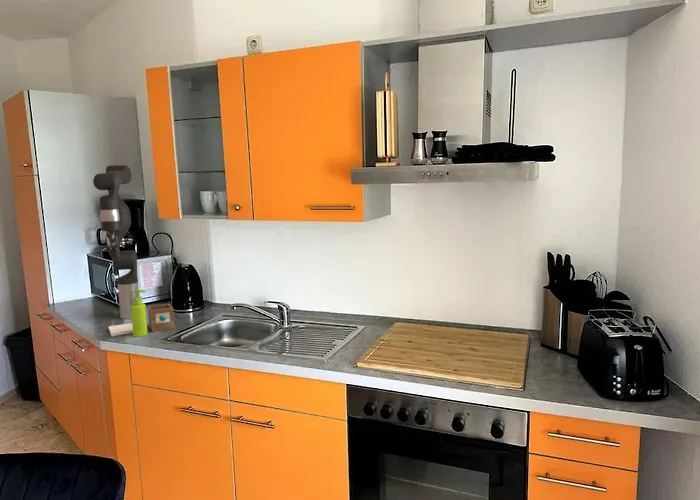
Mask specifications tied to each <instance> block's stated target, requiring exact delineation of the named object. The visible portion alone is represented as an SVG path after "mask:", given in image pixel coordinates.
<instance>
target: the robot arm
mask: <svg viewBox="0 0 700 500" xmlns="http://www.w3.org/2000/svg"><path fill="white" fill-rule="evenodd" d="M131 181H132V171H131V168H130V167H129V166H128V165H126V164H123V165H122V164H121V165H119V164H118V165H117V164H116V165H114V164H113V165H107V166H106V168H105V172H103V173H97V174H95V175H94V177H93V180H92V182H93V184H92V185H94V188H95V189H97V190H99V191H108V194H107V195H102V196H100V198H99V207H100V215H99V216H100V228H101V231H102V232H106V235H105V238H106V245H107V247H108V255H109V256H110V257H111V258H112V266H113V269H114V270H115V271H124V270H129V272H127V273H126V274H124V275H121V276H119V277H118V278H117V289H118V290H117V291H118V302H119V303H118V304H119V316H120V319H123V320H124V319H125V320H132V313H131V306H132V305H134V297H136V295H135V292H133V291H134V290H140V289H139V276H138V255H137V252H136V251H135V250H133V249H132V250H131V249H130V250H120V246H121V243H122V241H123V239H124V237H125V235H126V234H127V232H128V230H129V229H130V227H131V226H132V225H131V224H132V218H131V217H132V216H131V211H130V208H129V206H128V205H127V204H126V202H124V200H123V199H122V198H121V196H120V195H119V192H120V188H121V185H126V184H129V183H130V182H131Z"/></svg>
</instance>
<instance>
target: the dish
mask: <svg viewBox="0 0 700 500" xmlns="http://www.w3.org/2000/svg"><path fill="white" fill-rule="evenodd" d="M108 330H109V331H108V332H109V334H110V336H111V337H114V336H122V335H129V334H133V326H132V322H130V323H124V324H117V325H116V324H115V325H109V326H108Z"/></svg>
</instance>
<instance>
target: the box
mask: <svg viewBox="0 0 700 500" xmlns="http://www.w3.org/2000/svg"><path fill="white" fill-rule="evenodd" d="M147 311H148V328H149V329H150V331H151V332H152V333H158V332H159V333H160V332H164V331H165V332H166V331H171V330H174V329H175V322H174V321H175V318H174V307H173V306H172V305H171V304H170V303H164V304H163V303H162V304H156V305H148V306H147Z"/></svg>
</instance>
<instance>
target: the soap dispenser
mask: <svg viewBox="0 0 700 500" xmlns="http://www.w3.org/2000/svg"><path fill="white" fill-rule="evenodd" d="M133 292H135V295H136V297H134V305H132V306H131V313H132V318H131V323H132V326H133V333H132V336H133V337H143V336H147V335H148V318H147V308H146V307H147V306H146V304H145V303H143V297H142V296H141V295H140V293H144V294H145V293H146V292H147V290H145V289H139V290H134V291H133Z"/></svg>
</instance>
